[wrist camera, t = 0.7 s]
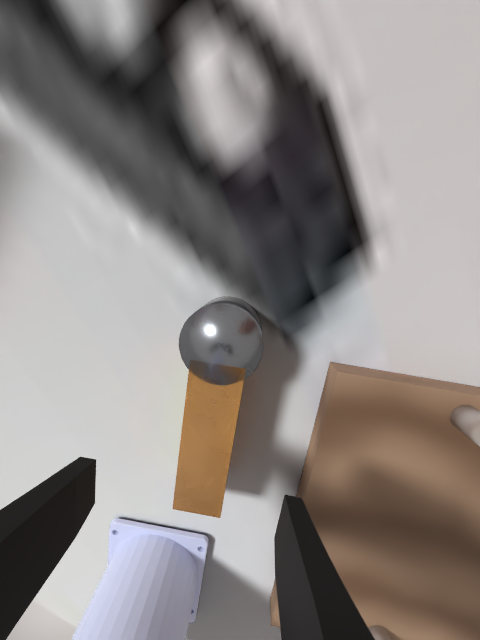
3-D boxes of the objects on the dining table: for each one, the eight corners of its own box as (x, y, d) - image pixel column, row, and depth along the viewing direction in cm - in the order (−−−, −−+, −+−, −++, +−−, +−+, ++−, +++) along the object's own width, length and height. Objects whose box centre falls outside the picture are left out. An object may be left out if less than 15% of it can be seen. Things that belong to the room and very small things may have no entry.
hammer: (235, 473, 18) (231, 520, 15) (178, 462, 19) (161, 506, 15) (266, 302, 16) (270, 312, 12) (199, 291, 16) (183, 297, 12)
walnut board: (459, 637, 20) (515, 739, 16) (269, 600, 21) (273, 689, 16) (579, 404, 16) (705, 457, 11) (330, 362, 16) (358, 397, 12)
